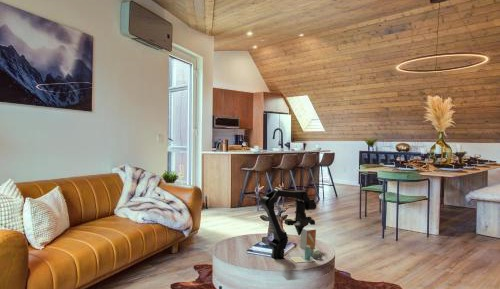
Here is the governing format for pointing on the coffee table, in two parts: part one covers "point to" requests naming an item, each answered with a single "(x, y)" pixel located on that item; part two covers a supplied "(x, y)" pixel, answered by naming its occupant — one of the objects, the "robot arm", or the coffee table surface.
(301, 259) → the colouring sheet
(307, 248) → the teal marker
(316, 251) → the button
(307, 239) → the small box
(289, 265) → the coffee table surface
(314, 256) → the frame
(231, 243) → the coffee table surface
